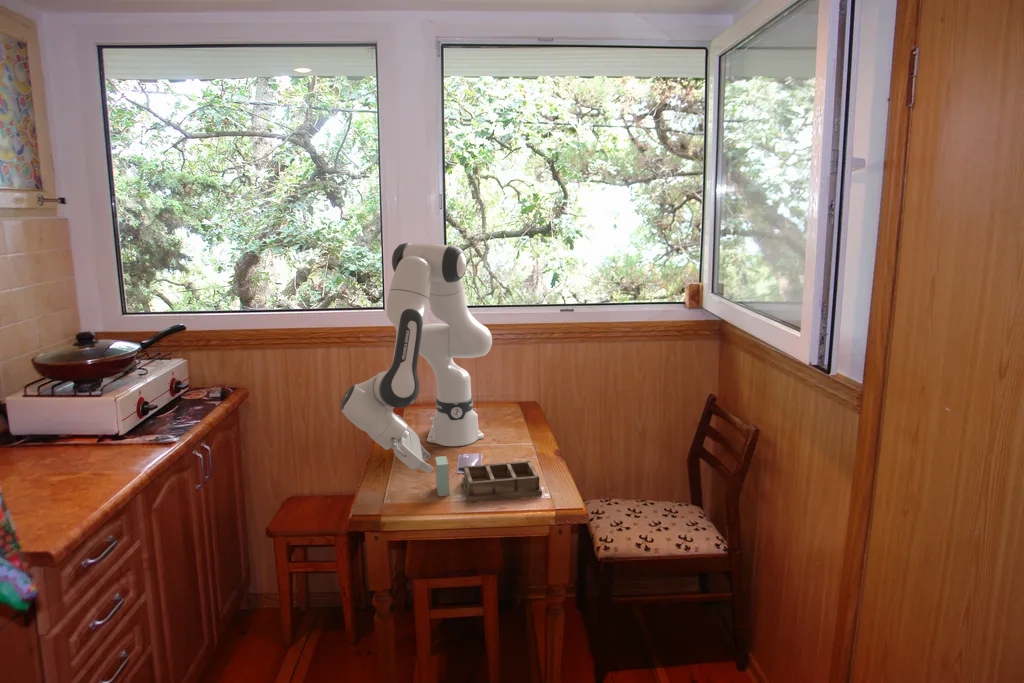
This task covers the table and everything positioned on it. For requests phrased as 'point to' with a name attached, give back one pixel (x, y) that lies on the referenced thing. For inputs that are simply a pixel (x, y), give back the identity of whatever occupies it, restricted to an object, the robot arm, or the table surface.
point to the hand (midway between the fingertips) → (430, 464)
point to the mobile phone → (468, 461)
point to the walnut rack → (501, 481)
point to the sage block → (442, 475)
